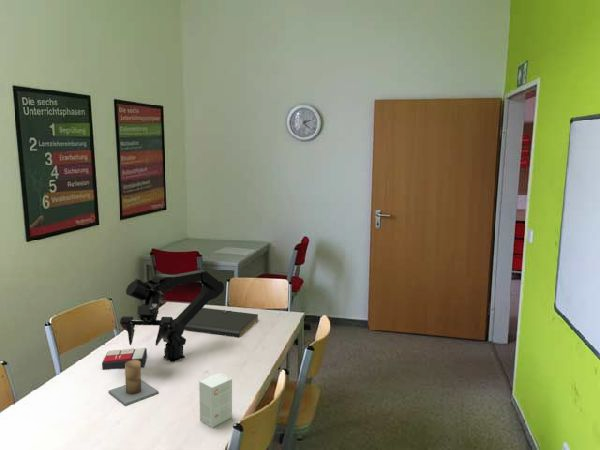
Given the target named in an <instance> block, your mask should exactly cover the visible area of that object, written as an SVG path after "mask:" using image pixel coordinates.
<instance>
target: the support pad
mask: <svg viewBox="0 0 600 450" xmlns="http://www.w3.org/2000/svg"><path fill="white" fill-rule="evenodd" d="M159 393H160V392H159V390H157V389H156V388H154V387H153V386H151V385H150V384H149V383H147V382H145V381H144V380H143V379H141V392H139V393H137V394H127V393H126V384H124V385H121V386H118V387H116V388H112V389H110V390H108V394H109V395H111V396H112V397H113V398H115V399H116V400H117V401H118V402H119V403H121V404H122V405H123V406H124V407H126V406H130V405H131V404H134V403H137V402H139V401H142V400H146V399H148V398H150V397H152V396H155V395H158V394H159Z"/></svg>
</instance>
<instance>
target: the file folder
mask: <svg viewBox="0 0 600 450" xmlns="http://www.w3.org/2000/svg"><path fill="white" fill-rule="evenodd" d="M258 316H259V313H258V314H257V313H250V312H241V311H240V312H239V311H233V310H226V309H217V308H216V309H215V308H208V307H203V308H202V309H201V310H200V311H199V312H198V313H197V314H196V315H195V316H194V317H193V318H192V320H191V321H190V322H189V323H188V324H187V325H186V326H185V328H184V331H189V332H198V333H204V334H211V335H218V336H219V335H220V336H225V335H226V337H233V336H234V338H240V337H241V336H243V335H244V334H245V333H246V332H247V331H248V330H249V329H250V328H252V325H253V324H254V323H255V322H256V321H257V320H258V321H259V317H258ZM258 321H257V322H258ZM257 322H256V323H257ZM256 323H255V324H256ZM255 324H254V325H255ZM254 325H253V326H254ZM247 329H248V330H247ZM246 330H247V331H246ZM245 331H246V332H245ZM244 332H245V333H244ZM239 336H240V337H239Z"/></svg>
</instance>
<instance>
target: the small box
mask: <svg viewBox="0 0 600 450" xmlns="http://www.w3.org/2000/svg"><path fill="white" fill-rule="evenodd" d="M198 382H199V384H198V385H199V387H198V389H199V391H198V392H199V420H200V421H201V422H202V423H203V424H205V425H207V426H208V427H211V428H212V429H213V428H215V427H216V426H218V425H221V424H222V423H224V422H226V421H227V420H229V419H232V418H233V378H231V377H230V376H227V375H225V374H223V373H221V372H218V373H215V374H213V375H211V376H209V377H206V378H204V379H202V380H200V381H199V380H198Z"/></svg>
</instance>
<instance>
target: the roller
mask: <svg viewBox="0 0 600 450" xmlns="http://www.w3.org/2000/svg"><path fill="white" fill-rule="evenodd" d="M124 377H125V379H124V380H125V385H126V393H127V394H137V393H139V392H141V380H142V369H141V362H140V361H139V360H131V361H127V362H126V363H125V368H124Z"/></svg>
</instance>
